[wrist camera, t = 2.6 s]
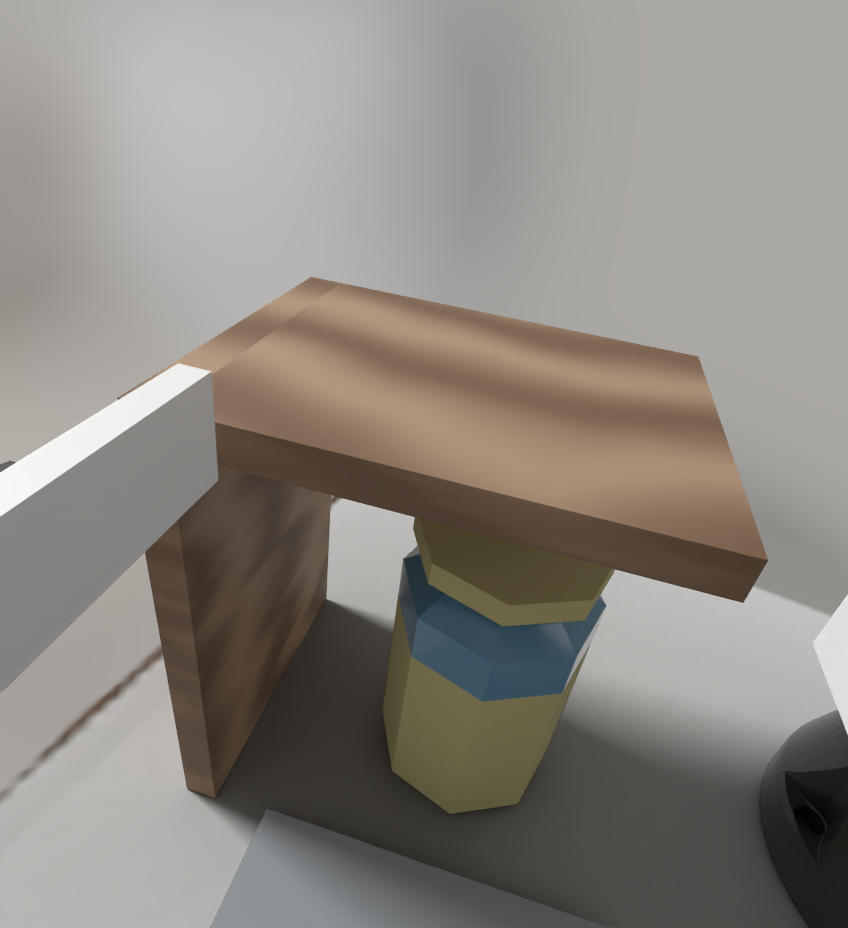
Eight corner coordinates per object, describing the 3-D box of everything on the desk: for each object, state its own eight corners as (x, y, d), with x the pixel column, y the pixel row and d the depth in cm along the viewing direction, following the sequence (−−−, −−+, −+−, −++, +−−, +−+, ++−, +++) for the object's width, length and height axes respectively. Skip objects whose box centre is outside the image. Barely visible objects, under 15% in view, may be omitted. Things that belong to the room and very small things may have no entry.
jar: (545, 689, 37) (618, 492, 29) (539, 846, 29) (638, 641, 21) (399, 653, 38) (430, 452, 29) (357, 797, 30) (383, 581, 22)
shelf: (305, 592, 41) (311, 277, 29) (572, 669, 38) (698, 356, 26) (187, 788, 29) (117, 397, 18) (557, 918, 27) (768, 560, 15)
